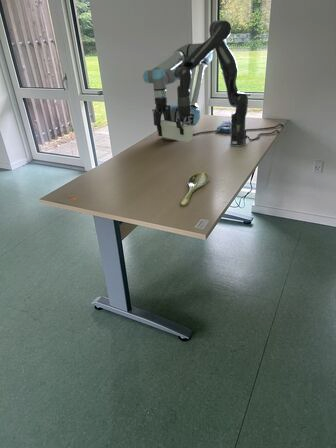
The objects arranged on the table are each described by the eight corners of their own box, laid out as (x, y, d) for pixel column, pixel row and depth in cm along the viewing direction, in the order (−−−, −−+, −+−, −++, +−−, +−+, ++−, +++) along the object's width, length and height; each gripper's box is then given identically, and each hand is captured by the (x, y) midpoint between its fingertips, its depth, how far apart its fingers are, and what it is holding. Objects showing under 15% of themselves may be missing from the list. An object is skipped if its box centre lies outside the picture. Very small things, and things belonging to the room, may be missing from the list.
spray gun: (242, 125, 260) (223, 125, 266) (242, 120, 258) (223, 120, 264) (234, 134, 245) (215, 133, 251) (234, 128, 242) (214, 128, 249)
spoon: (193, 209, 156) (193, 205, 155) (172, 207, 159) (171, 203, 158) (212, 175, 182) (212, 172, 181) (193, 174, 186) (193, 170, 184)
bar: (157, 135, 217) (156, 121, 213) (163, 133, 220) (162, 119, 216) (186, 142, 200) (186, 127, 196) (192, 140, 203) (192, 125, 199)
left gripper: (153, 100, 197) (157, 139, 209) (175, 94, 207) (177, 131, 219) (145, 99, 201) (149, 137, 214) (167, 93, 212) (169, 130, 224)
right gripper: (180, 107, 186) (181, 137, 195) (197, 102, 194) (198, 131, 203) (170, 106, 191) (172, 135, 200) (187, 101, 199) (189, 129, 208)
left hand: (163, 134), depth 216 cm, fingers closed on bar, 5 cm apart
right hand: (185, 133), depth 202 cm, fingers closed on bar, 5 cm apart
